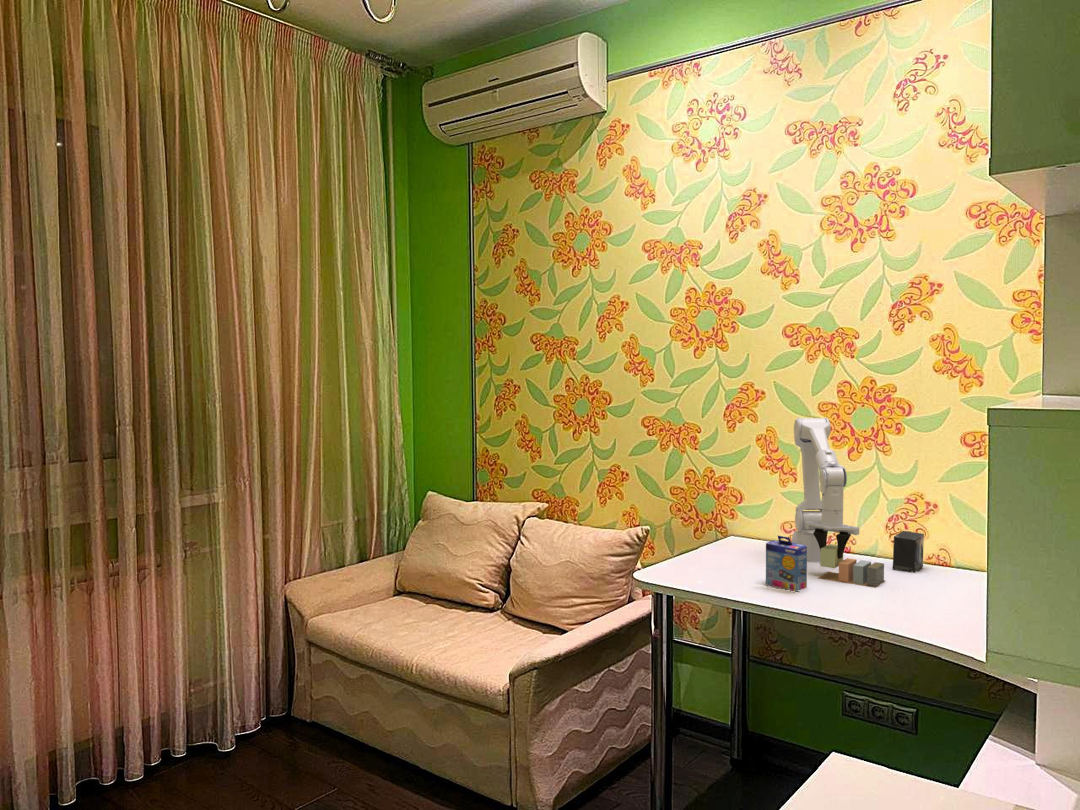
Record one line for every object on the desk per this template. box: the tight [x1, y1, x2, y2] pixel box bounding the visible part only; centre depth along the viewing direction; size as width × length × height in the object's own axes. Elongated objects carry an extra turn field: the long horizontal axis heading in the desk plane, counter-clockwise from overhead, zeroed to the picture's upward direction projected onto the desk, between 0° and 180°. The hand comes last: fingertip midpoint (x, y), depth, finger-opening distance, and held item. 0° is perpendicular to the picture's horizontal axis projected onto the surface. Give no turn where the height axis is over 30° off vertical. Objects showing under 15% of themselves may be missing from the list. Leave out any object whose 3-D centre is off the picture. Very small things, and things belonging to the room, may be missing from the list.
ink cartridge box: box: [765, 535, 808, 593], centre depth 226 cm, size 10×6×14 cm, turn 45°
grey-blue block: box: [853, 559, 872, 585], centre depth 230 cm, size 3×7×5 cm, turn 141°
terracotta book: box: [838, 557, 858, 582], centre depth 232 cm, size 3×7×5 cm, turn 141°
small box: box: [891, 530, 925, 574], centre depth 244 cm, size 11×6×10 cm, turn 143°
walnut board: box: [817, 571, 886, 589], centre depth 232 cm, size 16×9×1 cm, turn 51°
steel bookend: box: [867, 561, 885, 588], centre depth 228 cm, size 2×7×5 cm, turn 141°
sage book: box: [820, 543, 844, 569], centre depth 235 cm, size 4×7×5 cm, turn 141°
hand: (831, 556), depth 235 cm, fingers closed on sage book, 4 cm apart
